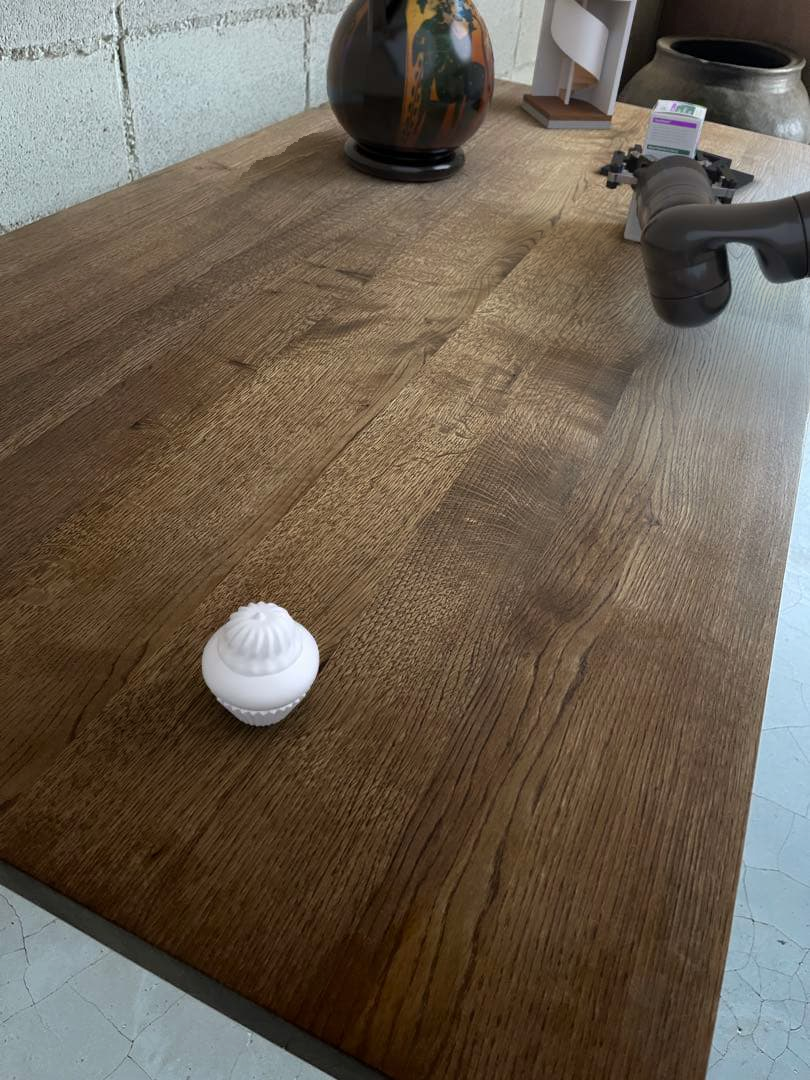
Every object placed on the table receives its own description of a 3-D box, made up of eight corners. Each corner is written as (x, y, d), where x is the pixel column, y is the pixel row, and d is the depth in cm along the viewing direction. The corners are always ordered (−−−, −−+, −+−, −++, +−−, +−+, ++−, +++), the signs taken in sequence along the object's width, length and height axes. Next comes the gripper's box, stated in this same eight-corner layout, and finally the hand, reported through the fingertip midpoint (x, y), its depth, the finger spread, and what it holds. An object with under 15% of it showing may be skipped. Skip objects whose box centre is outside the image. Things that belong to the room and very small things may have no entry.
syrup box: (670, 248, 108) (706, 117, 99) (620, 238, 109) (651, 108, 100) (675, 232, 112) (710, 105, 103) (627, 223, 113) (657, 97, 104)
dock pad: (752, 181, 131) (759, 160, 129) (705, 206, 121) (711, 184, 119) (652, 151, 138) (657, 132, 136) (599, 173, 128) (604, 152, 126)
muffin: (238, 767, 47) (233, 675, 43) (185, 690, 51) (175, 597, 46) (339, 717, 50) (345, 626, 46) (283, 647, 54) (282, 557, 49)
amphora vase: (432, 205, 113) (459, -66, 95) (291, 163, 120) (291, -95, 103) (510, 165, 127) (546, -76, 110) (379, 130, 135) (394, -101, 117)
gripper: (757, 177, 91) (738, 131, 104) (613, 157, 92) (611, 114, 105) (734, 250, 96) (718, 197, 109) (597, 231, 97) (597, 181, 110)
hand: (665, 157), depth 107 cm, fingers closed on syrup box, 6 cm apart
